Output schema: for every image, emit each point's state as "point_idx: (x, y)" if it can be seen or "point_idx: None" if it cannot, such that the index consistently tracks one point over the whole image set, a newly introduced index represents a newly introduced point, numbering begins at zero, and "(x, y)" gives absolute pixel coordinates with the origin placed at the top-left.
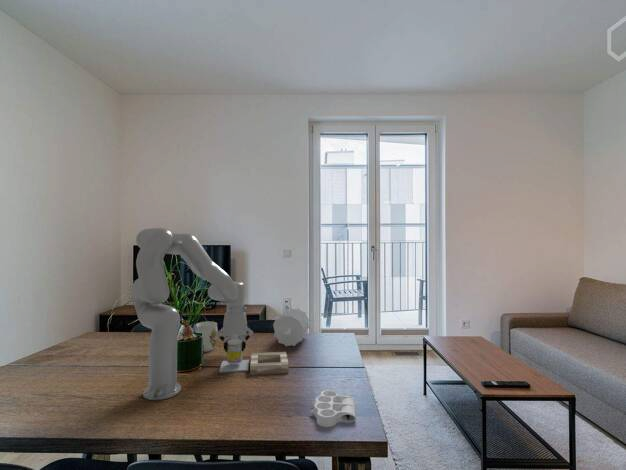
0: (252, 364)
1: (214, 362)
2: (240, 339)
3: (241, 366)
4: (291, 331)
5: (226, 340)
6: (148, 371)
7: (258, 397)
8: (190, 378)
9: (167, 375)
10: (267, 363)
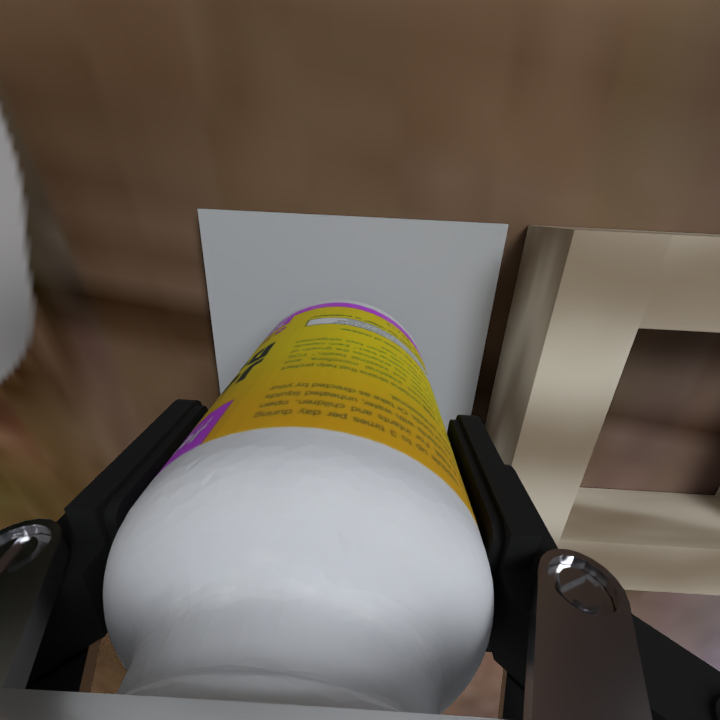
0: None
1: (113, 194)
2: (443, 708)
3: None
4: None
5: (82, 623)
6: None
7: (469, 712)
8: (61, 502)
9: None
10: (646, 557)
